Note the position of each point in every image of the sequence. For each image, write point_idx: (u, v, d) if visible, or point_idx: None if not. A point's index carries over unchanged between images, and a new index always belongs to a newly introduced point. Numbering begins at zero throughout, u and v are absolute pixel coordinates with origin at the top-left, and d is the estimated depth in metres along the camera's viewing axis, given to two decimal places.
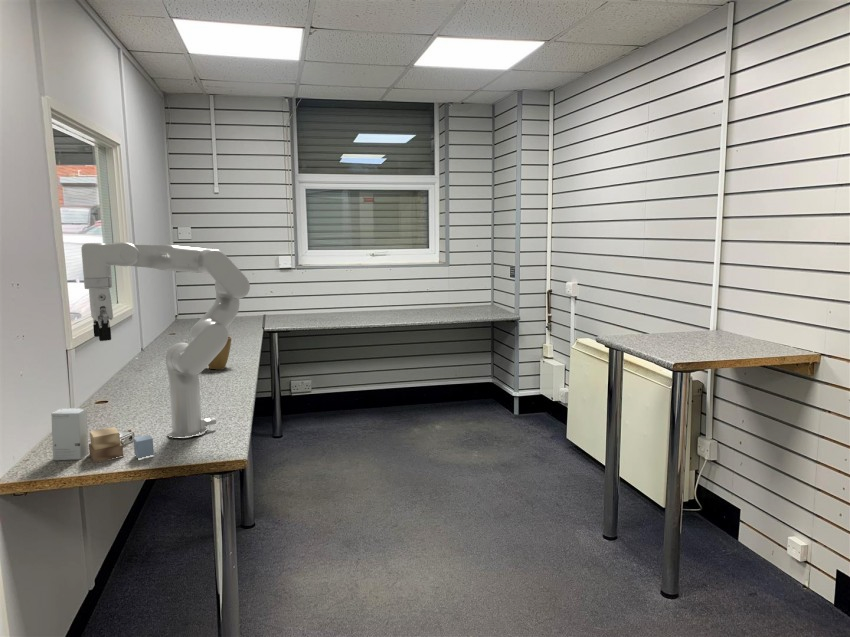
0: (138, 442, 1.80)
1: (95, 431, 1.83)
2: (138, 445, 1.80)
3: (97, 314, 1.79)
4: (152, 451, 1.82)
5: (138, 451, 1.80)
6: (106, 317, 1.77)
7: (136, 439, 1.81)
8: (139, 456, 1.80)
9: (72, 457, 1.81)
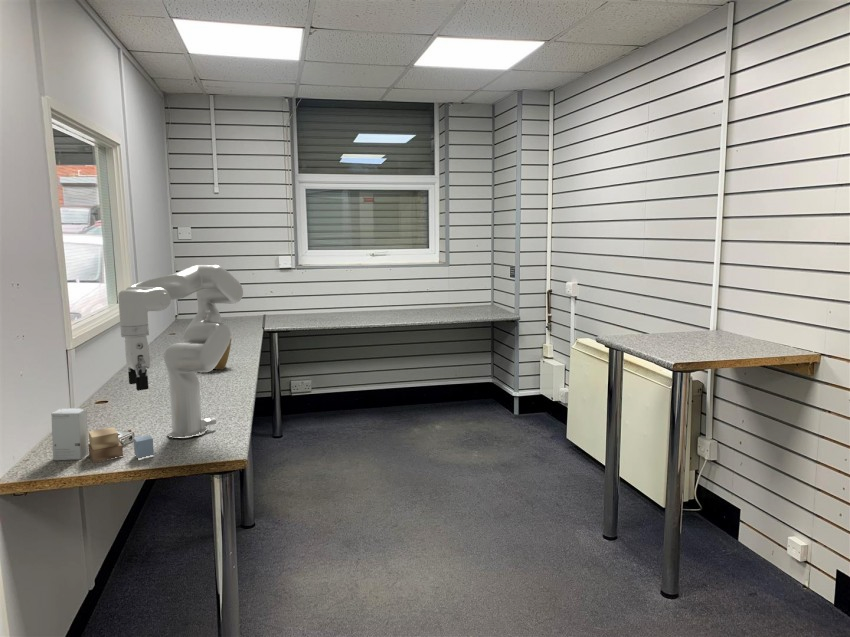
0: (138, 442, 1.80)
1: (94, 431, 1.83)
2: (138, 445, 1.80)
3: (135, 363, 1.74)
4: (152, 451, 1.82)
5: (138, 451, 1.80)
6: (144, 367, 1.73)
7: (136, 439, 1.81)
8: (139, 456, 1.80)
9: (72, 457, 1.81)
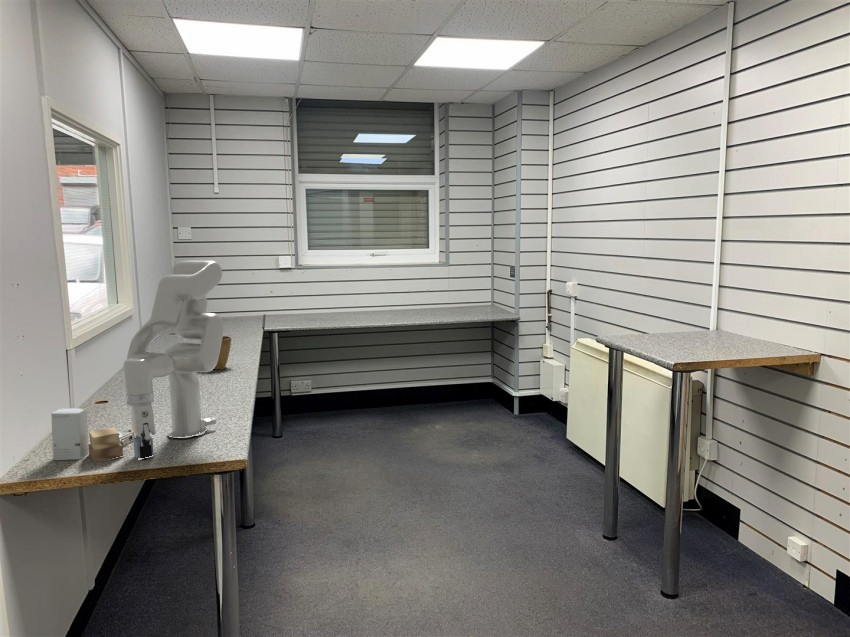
0: (138, 442, 1.80)
1: (94, 431, 1.83)
2: (138, 445, 1.80)
3: None
4: (152, 451, 1.82)
5: (138, 451, 1.80)
6: (148, 440, 1.77)
7: (136, 439, 1.81)
8: (139, 456, 1.80)
9: (72, 457, 1.81)
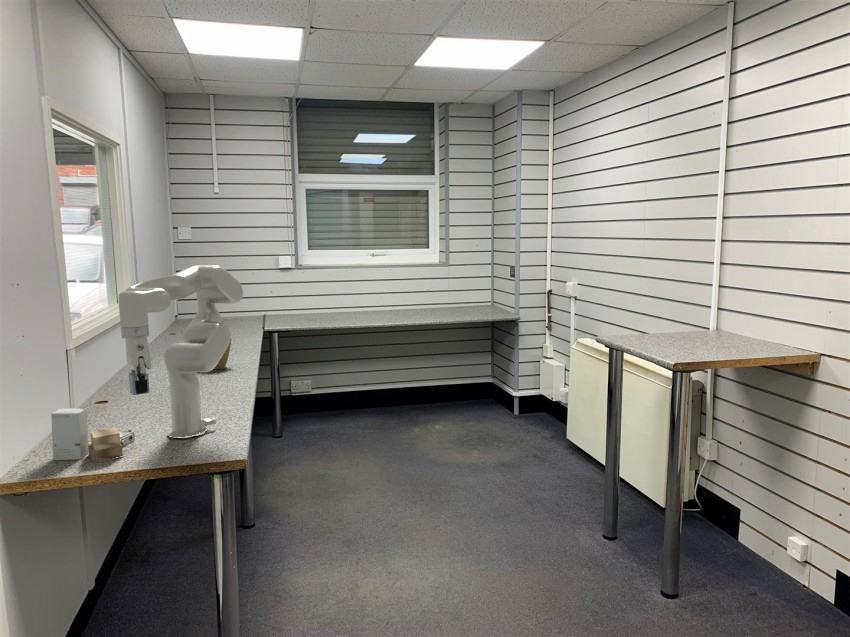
0: (133, 376, 1.77)
1: (96, 432, 1.83)
2: (133, 379, 1.77)
3: None
4: (148, 386, 1.80)
5: (133, 386, 1.77)
6: (144, 373, 1.75)
7: (131, 374, 1.79)
8: (134, 391, 1.78)
9: (72, 457, 1.81)
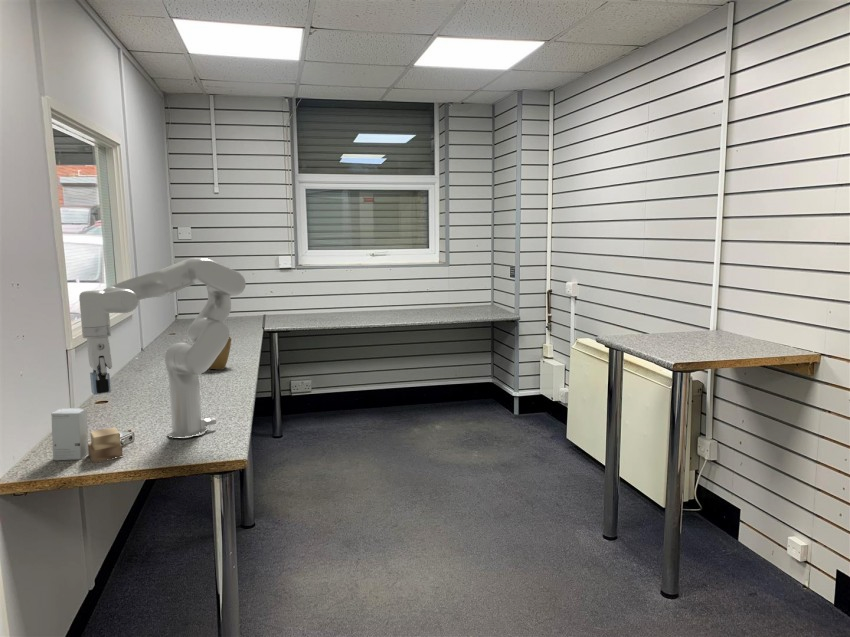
0: (94, 376, 1.77)
1: (96, 431, 1.83)
2: (94, 379, 1.78)
3: None
4: (109, 386, 1.80)
5: (94, 385, 1.78)
6: (104, 373, 1.75)
7: (92, 373, 1.79)
8: (95, 390, 1.78)
9: (72, 457, 1.81)
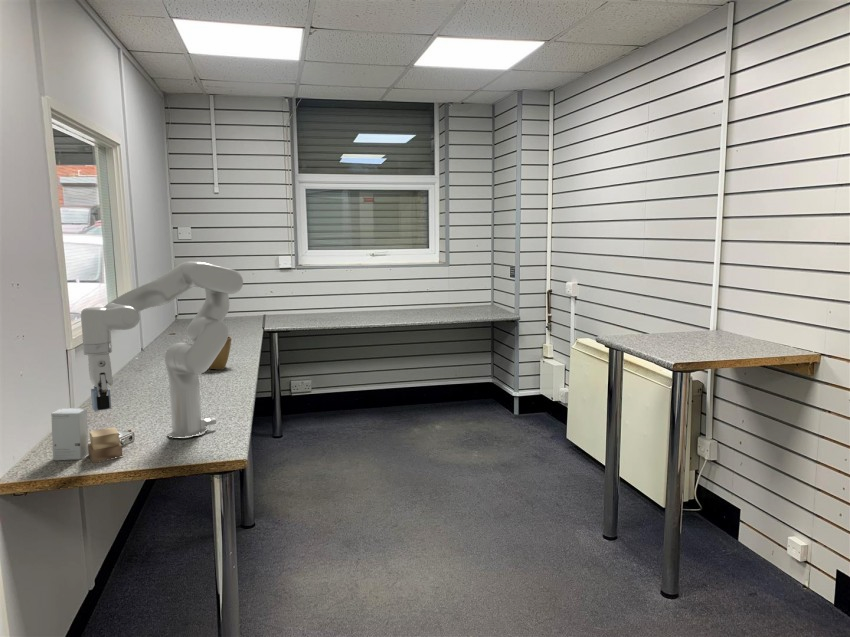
0: (95, 392, 1.78)
1: (95, 431, 1.83)
2: (95, 395, 1.78)
3: None
4: (109, 402, 1.81)
5: (95, 401, 1.78)
6: (105, 389, 1.76)
7: (93, 390, 1.80)
8: (96, 407, 1.79)
9: (72, 457, 1.81)
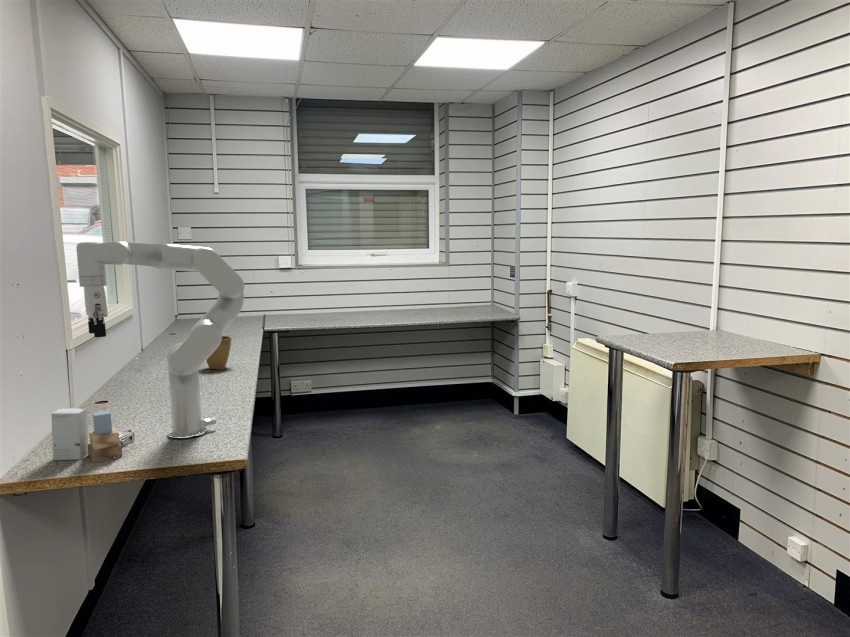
0: (95, 416, 1.80)
1: None
2: (95, 419, 1.80)
3: (92, 311, 1.84)
4: (110, 426, 1.82)
5: (95, 425, 1.80)
6: (101, 314, 1.82)
7: (94, 414, 1.81)
8: (96, 430, 1.80)
9: (72, 457, 1.81)
